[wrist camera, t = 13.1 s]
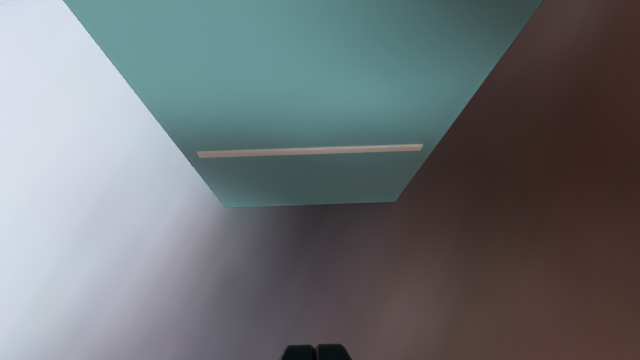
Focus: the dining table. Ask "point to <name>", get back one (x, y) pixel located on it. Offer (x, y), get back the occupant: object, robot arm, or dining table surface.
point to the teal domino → (304, 86)
